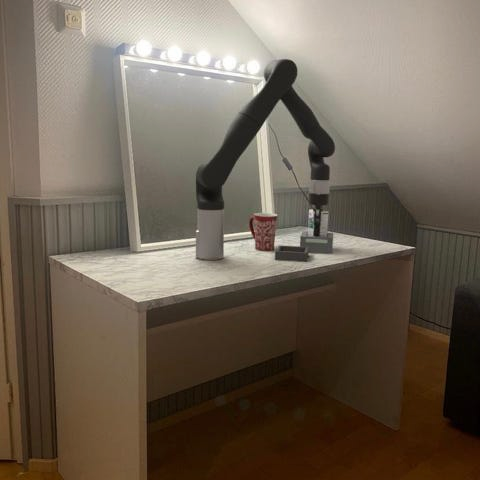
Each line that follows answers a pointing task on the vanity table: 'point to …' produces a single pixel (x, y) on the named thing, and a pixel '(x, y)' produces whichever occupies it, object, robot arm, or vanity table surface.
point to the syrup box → (323, 224)
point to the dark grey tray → (292, 253)
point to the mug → (264, 230)
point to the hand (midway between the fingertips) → (317, 234)
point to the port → (317, 243)
